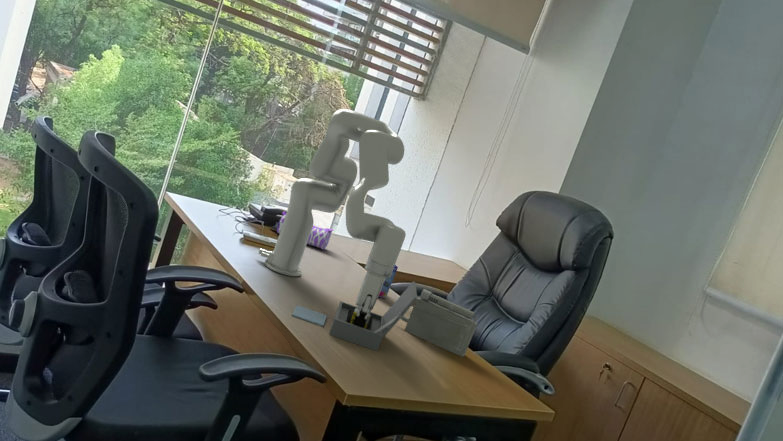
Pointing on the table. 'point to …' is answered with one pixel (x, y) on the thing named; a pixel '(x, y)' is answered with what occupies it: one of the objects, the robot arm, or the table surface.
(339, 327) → the case
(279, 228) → the pencil case
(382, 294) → the ink cartridge box
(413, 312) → the geiger counter
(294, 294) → the table surface
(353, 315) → the supplement bottle
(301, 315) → the pad
